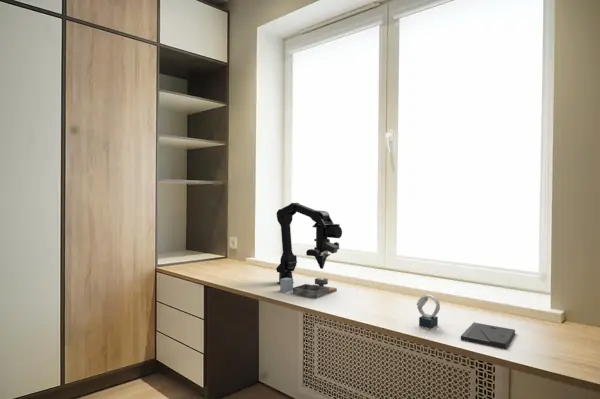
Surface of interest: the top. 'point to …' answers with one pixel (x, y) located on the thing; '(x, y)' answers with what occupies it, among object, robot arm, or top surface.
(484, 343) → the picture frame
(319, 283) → the wheel
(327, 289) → the tray
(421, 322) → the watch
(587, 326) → the top surface
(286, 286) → the grey-blue block
